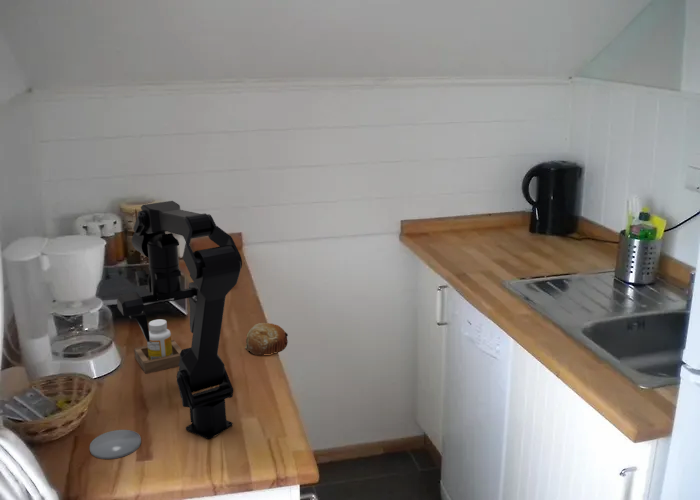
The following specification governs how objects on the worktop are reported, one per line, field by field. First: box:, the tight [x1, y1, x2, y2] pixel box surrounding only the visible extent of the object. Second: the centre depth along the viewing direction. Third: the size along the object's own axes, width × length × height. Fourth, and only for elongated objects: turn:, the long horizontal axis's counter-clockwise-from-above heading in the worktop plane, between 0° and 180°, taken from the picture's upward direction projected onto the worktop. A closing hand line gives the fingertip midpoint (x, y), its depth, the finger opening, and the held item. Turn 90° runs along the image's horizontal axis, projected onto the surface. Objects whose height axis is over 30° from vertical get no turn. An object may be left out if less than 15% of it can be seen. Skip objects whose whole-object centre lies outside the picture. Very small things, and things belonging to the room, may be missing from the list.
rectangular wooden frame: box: [133, 339, 183, 374], centre depth 167 cm, size 9×9×2 cm
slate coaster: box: [89, 429, 142, 460], centre depth 133 cm, size 9×9×1 cm
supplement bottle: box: [146, 319, 173, 360], centre depth 166 cm, size 5×5×10 cm
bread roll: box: [245, 322, 289, 356], centre depth 174 cm, size 10×10×8 cm
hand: (170, 336), depth 149 cm, fingers open, 9 cm apart
